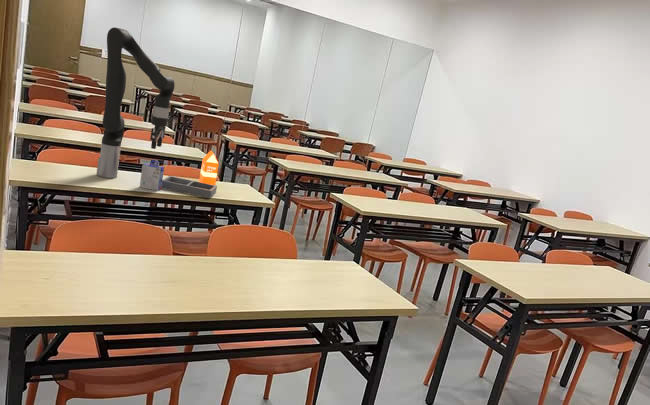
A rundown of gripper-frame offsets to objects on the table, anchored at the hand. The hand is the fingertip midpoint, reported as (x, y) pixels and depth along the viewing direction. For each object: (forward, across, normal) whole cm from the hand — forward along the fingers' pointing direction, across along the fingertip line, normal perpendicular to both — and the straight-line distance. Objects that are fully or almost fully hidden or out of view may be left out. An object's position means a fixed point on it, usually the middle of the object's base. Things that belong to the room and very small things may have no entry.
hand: (156, 147), depth 248 cm
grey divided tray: (+22, -12, +17) cm, 30 cm away
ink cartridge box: (+22, 0, 0) cm, 22 cm away
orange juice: (+22, -32, +22) cm, 45 cm away
